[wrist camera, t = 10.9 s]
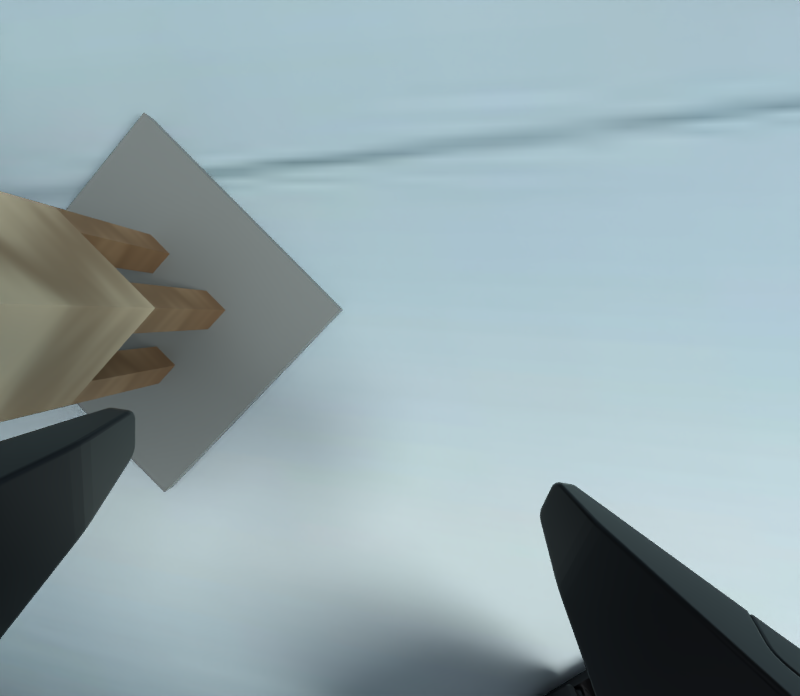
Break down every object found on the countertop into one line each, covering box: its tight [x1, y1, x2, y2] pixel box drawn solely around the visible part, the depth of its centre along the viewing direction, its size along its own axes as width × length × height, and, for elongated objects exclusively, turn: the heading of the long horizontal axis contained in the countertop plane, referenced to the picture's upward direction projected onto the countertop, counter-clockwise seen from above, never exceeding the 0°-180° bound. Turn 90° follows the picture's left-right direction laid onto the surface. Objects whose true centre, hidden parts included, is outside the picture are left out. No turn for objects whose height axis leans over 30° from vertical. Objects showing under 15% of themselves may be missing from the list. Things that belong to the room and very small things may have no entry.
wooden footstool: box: [0, 191, 225, 422], centre depth 14 cm, size 6×6×12 cm
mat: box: [66, 113, 342, 492], centre depth 20 cm, size 14×14×1 cm
